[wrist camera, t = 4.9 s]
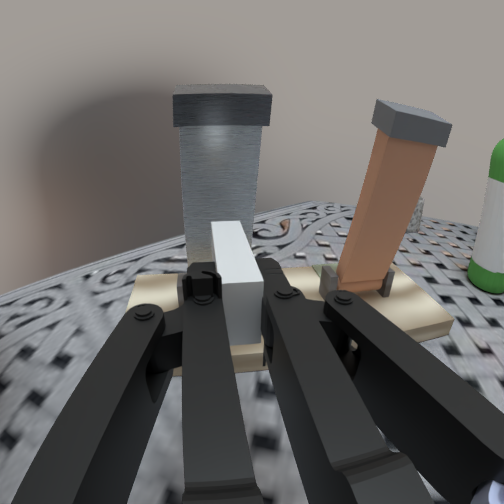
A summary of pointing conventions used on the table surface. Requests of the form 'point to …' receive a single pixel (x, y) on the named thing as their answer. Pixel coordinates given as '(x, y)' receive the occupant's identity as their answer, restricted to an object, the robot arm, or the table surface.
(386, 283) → the switch panel
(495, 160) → the wine bottle
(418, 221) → the mug
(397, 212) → the terracotta lever
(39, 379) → the table surface
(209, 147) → the grey lever
